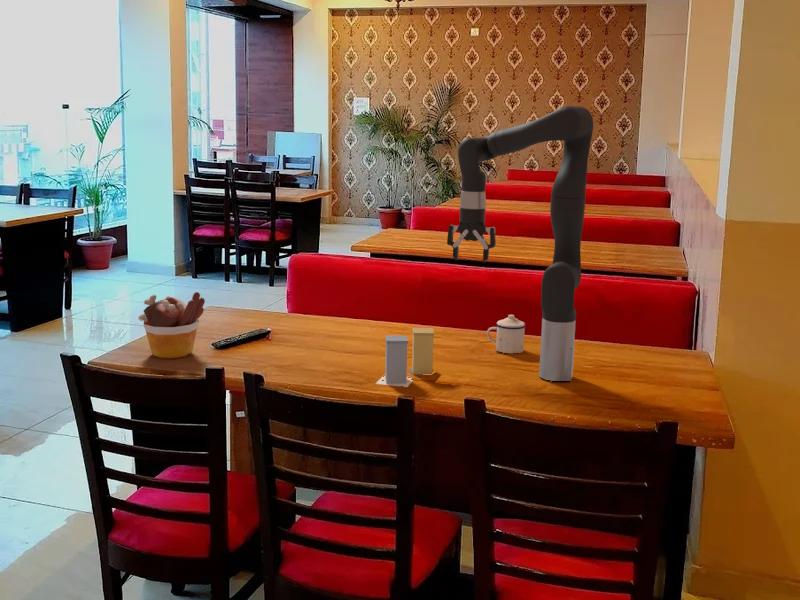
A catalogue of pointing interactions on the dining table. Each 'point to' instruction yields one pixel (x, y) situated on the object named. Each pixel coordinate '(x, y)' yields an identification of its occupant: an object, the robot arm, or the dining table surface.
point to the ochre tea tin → (422, 350)
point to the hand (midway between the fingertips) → (470, 260)
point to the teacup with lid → (509, 335)
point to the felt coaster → (414, 374)
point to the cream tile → (394, 384)
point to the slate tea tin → (396, 359)
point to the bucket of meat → (172, 325)
